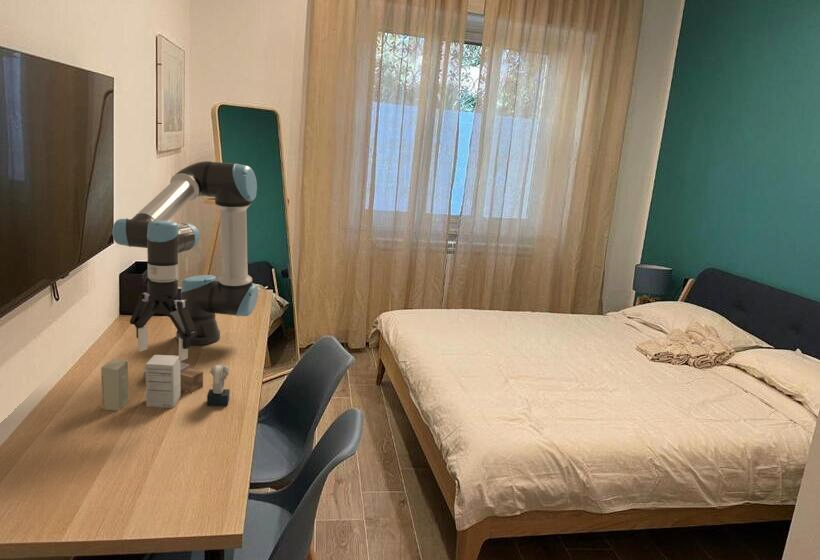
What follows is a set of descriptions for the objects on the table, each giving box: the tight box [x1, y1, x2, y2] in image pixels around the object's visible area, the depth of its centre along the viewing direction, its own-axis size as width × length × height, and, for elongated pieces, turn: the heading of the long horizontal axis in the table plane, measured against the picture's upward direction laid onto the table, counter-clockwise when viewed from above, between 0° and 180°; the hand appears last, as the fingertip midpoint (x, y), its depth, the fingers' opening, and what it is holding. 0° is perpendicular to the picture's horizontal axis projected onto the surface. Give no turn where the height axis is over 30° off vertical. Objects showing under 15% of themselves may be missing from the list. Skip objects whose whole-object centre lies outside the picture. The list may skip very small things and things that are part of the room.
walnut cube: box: [180, 367, 204, 394], centre depth 176 cm, size 5×5×5 cm
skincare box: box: [100, 358, 130, 411], centre depth 160 cm, size 6×4×12 cm
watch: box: [206, 364, 231, 407], centre depth 167 cm, size 6×8×11 cm
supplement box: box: [145, 354, 182, 409], centre depth 165 cm, size 7×7×13 cm
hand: (162, 354), depth 162 cm, fingers open, 13 cm apart
